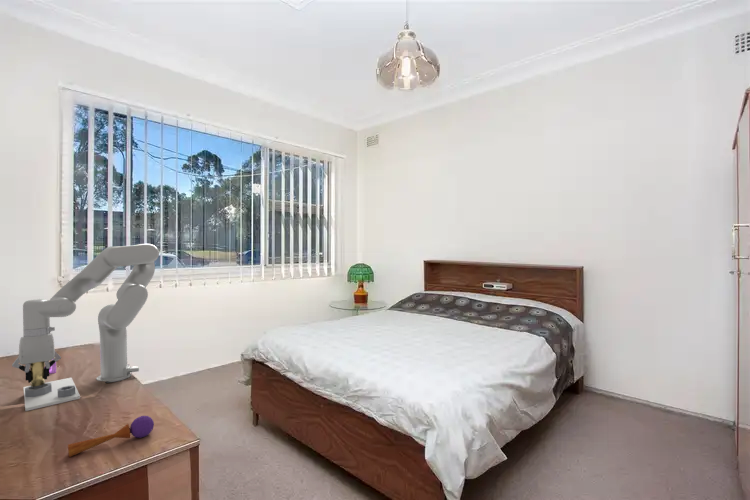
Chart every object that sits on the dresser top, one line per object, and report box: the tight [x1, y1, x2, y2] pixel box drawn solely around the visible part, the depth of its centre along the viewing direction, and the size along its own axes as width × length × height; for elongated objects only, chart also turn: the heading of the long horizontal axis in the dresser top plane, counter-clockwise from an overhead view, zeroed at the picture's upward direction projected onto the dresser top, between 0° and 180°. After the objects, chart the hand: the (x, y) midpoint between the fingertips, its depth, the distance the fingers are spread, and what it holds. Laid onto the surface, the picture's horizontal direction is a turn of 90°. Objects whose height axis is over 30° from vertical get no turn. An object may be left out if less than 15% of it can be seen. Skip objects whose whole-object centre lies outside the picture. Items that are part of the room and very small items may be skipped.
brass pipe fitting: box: [29, 362, 46, 386], centre depth 144 cm, size 4×4×9 cm
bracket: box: [44, 359, 57, 375], centre depth 171 cm, size 13×6×7 cm, turn 40°
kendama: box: [67, 415, 155, 458], centre depth 108 cm, size 6×6×20 cm
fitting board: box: [23, 377, 81, 412], centre depth 146 cm, size 15×28×4 cm, turn 44°
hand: (37, 379), depth 144 cm, fingers closed on brass pipe fitting, 4 cm apart
